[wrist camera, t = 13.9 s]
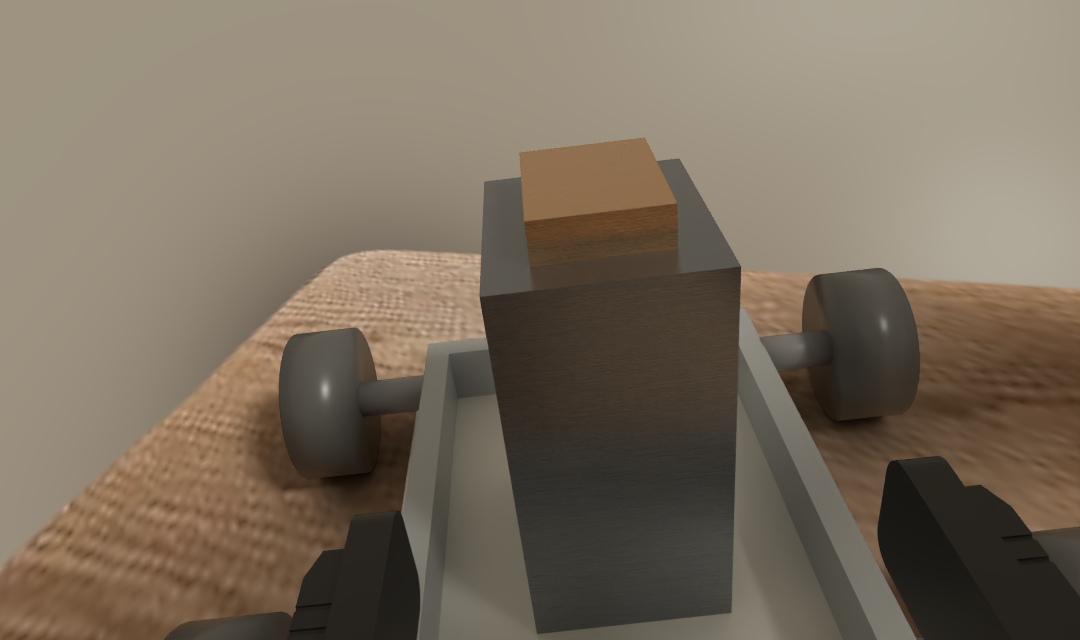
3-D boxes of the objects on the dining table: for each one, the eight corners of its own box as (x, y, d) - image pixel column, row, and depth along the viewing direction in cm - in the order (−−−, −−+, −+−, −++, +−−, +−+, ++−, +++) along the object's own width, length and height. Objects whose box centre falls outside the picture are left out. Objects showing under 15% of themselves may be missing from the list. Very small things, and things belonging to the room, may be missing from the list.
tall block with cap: (684, 456, 25) (678, 120, 20) (731, 612, 20) (742, 218, 14) (529, 474, 25) (478, 143, 20) (536, 634, 20) (471, 250, 15)
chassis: (850, 360, 30) (864, 243, 28) (1170, 836, 16) (1261, 683, 13) (335, 417, 31) (301, 307, 28) (187, 932, 16) (88, 802, 14)
